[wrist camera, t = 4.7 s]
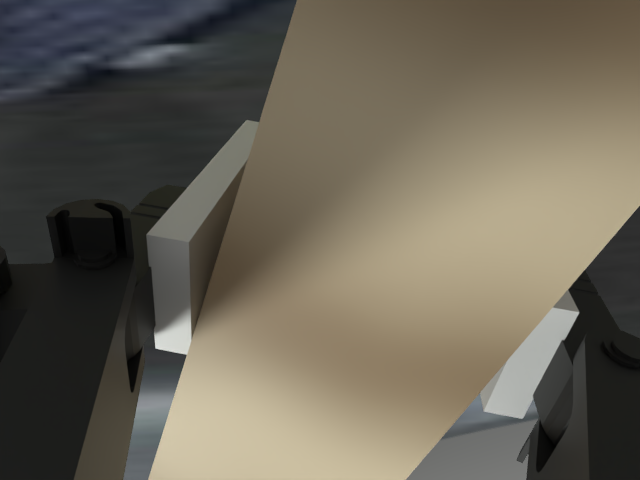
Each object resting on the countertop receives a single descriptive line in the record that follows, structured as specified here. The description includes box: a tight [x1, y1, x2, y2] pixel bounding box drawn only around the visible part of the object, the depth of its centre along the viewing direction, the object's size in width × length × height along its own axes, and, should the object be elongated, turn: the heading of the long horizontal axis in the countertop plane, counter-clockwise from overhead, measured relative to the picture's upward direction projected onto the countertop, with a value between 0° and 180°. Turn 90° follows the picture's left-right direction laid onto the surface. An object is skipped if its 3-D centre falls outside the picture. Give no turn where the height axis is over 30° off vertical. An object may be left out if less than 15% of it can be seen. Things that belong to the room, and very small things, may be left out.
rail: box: [148, 0, 640, 480], centre depth 12 cm, size 20×5×8 cm, turn 159°
